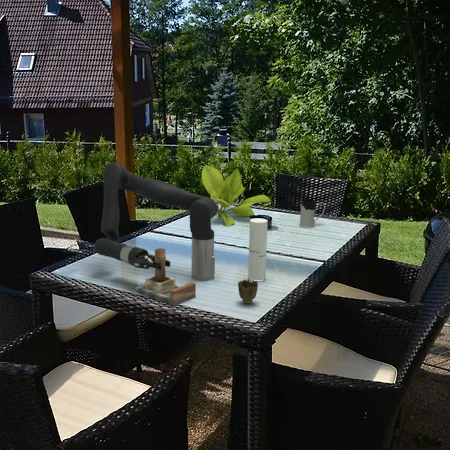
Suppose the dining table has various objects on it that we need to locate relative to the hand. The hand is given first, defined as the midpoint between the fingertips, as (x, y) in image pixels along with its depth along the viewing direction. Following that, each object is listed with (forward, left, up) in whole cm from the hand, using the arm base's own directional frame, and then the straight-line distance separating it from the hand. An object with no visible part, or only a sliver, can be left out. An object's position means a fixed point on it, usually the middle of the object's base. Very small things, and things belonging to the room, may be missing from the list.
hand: (165, 265), depth 212 cm
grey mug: (-92, -92, -12) cm, 131 cm away
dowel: (+2, -2, -8) cm, 9 cm away
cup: (-29, +13, -12) cm, 34 cm away
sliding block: (+2, -2, -10) cm, 10 cm away
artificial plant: (-50, -114, -12) cm, 125 cm away
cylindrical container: (-39, -12, -12) cm, 43 cm away
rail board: (0, 0, -12) cm, 12 cm away
